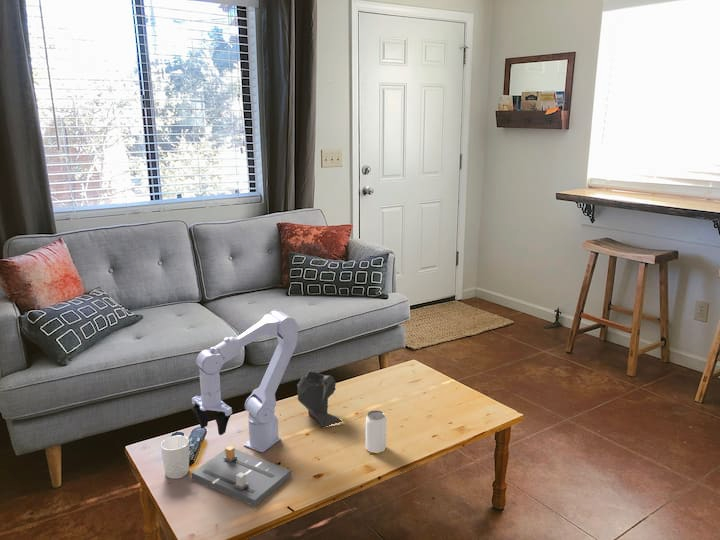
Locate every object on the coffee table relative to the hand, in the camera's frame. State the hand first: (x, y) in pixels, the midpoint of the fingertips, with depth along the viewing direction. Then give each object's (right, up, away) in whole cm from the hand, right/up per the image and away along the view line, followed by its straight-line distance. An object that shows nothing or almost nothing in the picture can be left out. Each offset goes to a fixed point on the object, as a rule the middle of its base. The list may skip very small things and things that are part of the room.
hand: (213, 430), depth 180 cm
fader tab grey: (+11, -12, -14) cm, 22 cm away
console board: (+10, -12, -7) cm, 17 cm away
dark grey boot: (+30, -3, +28) cm, 41 cm away
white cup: (-10, -12, -4) cm, 16 cm away
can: (+50, -8, +9) cm, 51 cm away
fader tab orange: (+5, -8, -1) cm, 10 cm away
